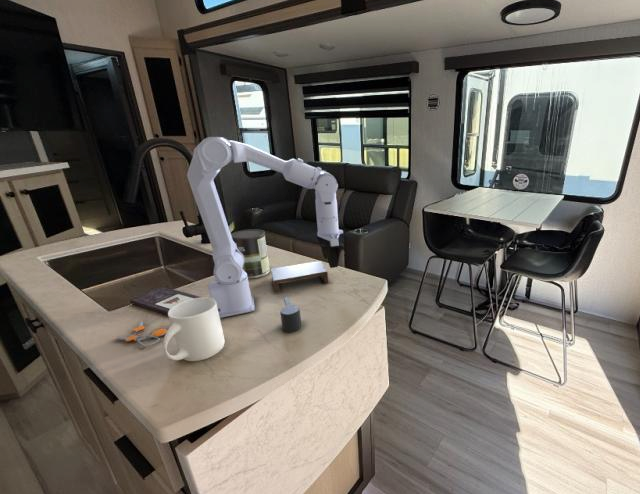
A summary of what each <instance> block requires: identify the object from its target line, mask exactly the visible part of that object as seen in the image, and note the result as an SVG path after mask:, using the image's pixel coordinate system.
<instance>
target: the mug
mask: <svg viewBox="0 0 640 494" xmlns="http://www.w3.org/2000/svg"><path fill="white" fill-rule="evenodd" d="M167 316H168V320H169V323H170V326H169V328H167V330H168V331H167V332H166V334H165V335H164V337H163V341H162V343H163V344H162V345H163V346H162V347H163V351H164V353H165V356H166V357H167V358H168V359H169V360H171V361H181V360H185V361H187V362H199V361H203V360H207V359H209V358H211V357H212V358H213V356H214V357H215V356H216V355H217V354H218V353H219V352H221V351H222V349H223V348H224V346H225V343H226V342H225V335H224V331H223V326H222V321H221V318H220V317H219V313H218V308H217V304H216V301H215V300H214V299H212V298H210V297H202V298H195V299H190V300H187V301H184V302H181V303H179V304H177V305H175V306H173V307H172V308H171V309H170V310H169V311H168V315H167ZM173 337H174V340H175V344H176V348H177V350H178V352H177V353H176V354H174V355H173V354H170V353H169V352H168V344H169V342H170V340H171V339H172V338H173Z"/></svg>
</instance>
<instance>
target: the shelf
mask: <svg viewBox="0 0 640 494" xmlns="http://www.w3.org/2000/svg"><path fill="white" fill-rule="evenodd" d="M270 273H271V274H270V275H271V280H272V285H273V289H274V293H275V294H277V293H280V285H279V284H282V283H287V282H292V281H297V280H305V279H310V278H315V277H320V279H321V280H322V282H323V283H324V284H329V276H328V275H329V274H328V271H327V268H326V267H325V265H324V264H323V263H322V261H321V260H318V261H312V262H304V263H299V264H292V265H286V266H279V267H273V268H270Z"/></svg>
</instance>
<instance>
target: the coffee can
mask: <svg viewBox="0 0 640 494" xmlns="http://www.w3.org/2000/svg"><path fill="white" fill-rule="evenodd" d="M231 236H232V239H233V241H234V242H235V244H236V246H237V249H238V250H239V251H240V252H241V253H242V254H243V256H244V259H245V262H244V265H243V268H242V269H243V270H244V271H245V272H246V273H247V276H248V280H250V279H258V278H262V277H264V276H267V275H268V274H269V273H271V268H270V262H269V255H268V248H267V241H266V232H265V230H262V229H256V228H255V229H254V228H253V229H242V230H238V231H235V232H233V233H231Z"/></svg>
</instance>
